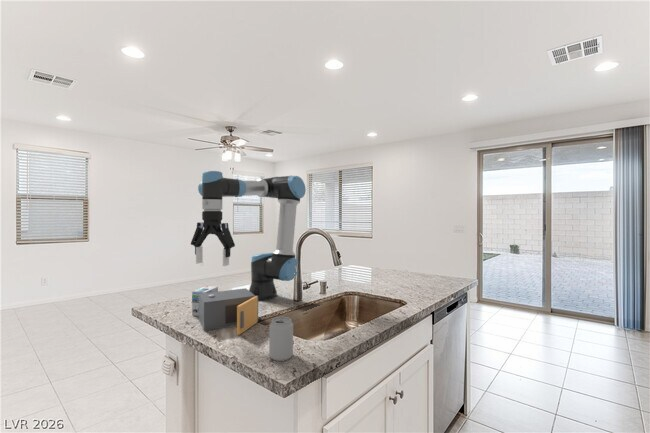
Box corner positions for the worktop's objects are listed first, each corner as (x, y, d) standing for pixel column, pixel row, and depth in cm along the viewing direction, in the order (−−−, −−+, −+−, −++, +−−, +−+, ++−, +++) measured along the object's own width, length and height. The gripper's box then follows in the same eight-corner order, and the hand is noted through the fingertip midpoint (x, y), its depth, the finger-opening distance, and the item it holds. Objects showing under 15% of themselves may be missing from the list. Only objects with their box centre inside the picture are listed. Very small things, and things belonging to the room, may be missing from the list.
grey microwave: (248, 312, 143) (248, 286, 143) (258, 321, 131) (258, 294, 131) (198, 319, 133) (198, 292, 133) (204, 331, 120) (204, 301, 120)
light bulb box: (205, 316, 137) (205, 292, 136) (191, 315, 138) (191, 291, 138) (218, 309, 147) (218, 286, 147) (205, 308, 148) (205, 285, 148)
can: (264, 360, 98) (264, 321, 97) (276, 350, 105) (276, 314, 104) (286, 364, 95) (286, 324, 95) (297, 353, 102) (297, 316, 102)
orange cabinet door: (256, 320, 131) (256, 295, 130) (260, 321, 130) (260, 296, 130) (236, 334, 116) (236, 306, 116) (241, 335, 116) (241, 306, 116)
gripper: (181, 210, 126) (181, 263, 126) (231, 210, 116) (231, 268, 116) (195, 210, 133) (195, 260, 133) (244, 210, 123) (244, 265, 123)
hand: (212, 264), depth 125 cm, fingers open, 13 cm apart
